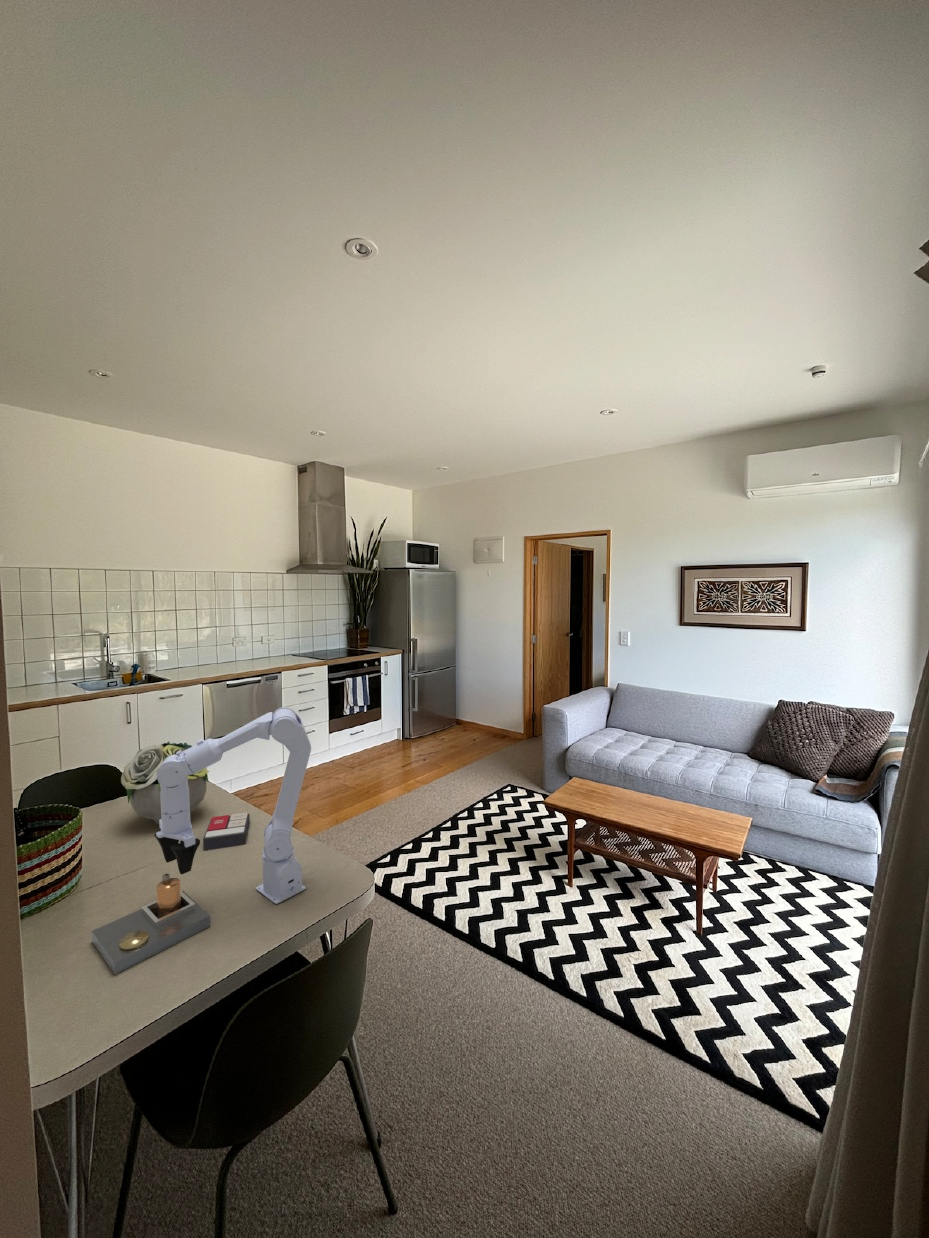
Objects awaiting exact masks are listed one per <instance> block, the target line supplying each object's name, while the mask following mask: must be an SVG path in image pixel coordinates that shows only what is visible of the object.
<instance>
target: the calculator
mask: <svg viewBox="0 0 929 1238" xmlns="http://www.w3.org/2000/svg"><path fill="white" fill-rule="evenodd" d="M250 816H251V815H250V813H248V812H241V813H240V812H239V813H234V814H233V813H232V814H231V815H229V814H226V815H218V816H213V817H212V818H211V819H210V820H209V823H208V826H207V828H206V831H205V832H204V836H203V838H202V844H203V845H202V846H203V847H202V849H203V851H205V852H206V851H210V850H211V851H212V850H218V849H219V850H220V849H225V848H232V847H239V846H245V845H246V844H247V840H248V839H247V838H248V833H249V827H250V822H251V820H250Z"/></svg>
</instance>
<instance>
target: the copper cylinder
mask: <svg viewBox="0 0 929 1238" xmlns="http://www.w3.org/2000/svg"><path fill="white" fill-rule="evenodd" d="M161 878H162V879H161V880H162V881H160V882H159V883H158V884H156V900H157V906H158V919H160V918H162V917H164V916H166V915H168V914H170V913H172V912H175V911H177V910H179V909H181V891H182V890H181V880H180V878H177V877H172V878H171V877H170V873H164V874H163V875H162V877H161ZM180 890H181V891H180Z"/></svg>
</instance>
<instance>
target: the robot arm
mask: <svg viewBox="0 0 929 1238" xmlns="http://www.w3.org/2000/svg"><path fill="white" fill-rule="evenodd" d="M270 737H272V738H273V740H275V741H276V742H277V743H280V744H281V745H283V746H284V747H285V748H286V749H287V750H288V751H289V755H288V759H287V761H286V766H285V771H284V773H283V774H284V775H283V778H282V781H281V786H280V790H279V794H278V796H277V801H276V805H275V809H274V811H273V813H272V816H271V818H270V821H269V822H268V823H267V825H266V826H265V828H264V830H263V836H264V837H263V838H264V841H263V843H264V845H263V850H262V851H263V852H262V853H261V855H262V856H261V858H262V862H261V863H262V884H259V885H258V886H256V887H255V890H256V891H257V892H259V893H260V894H261V895H263V896H264V897H265V898H267V899H268V900H269V901H270V902H272V903H274V904H275V905H278V904H279V903H282V902H284V901H285V900H288V899H289V898H292V897H293V896H295V895H297V894H299V893H300V892H303V891H304V890H306V886H304V885H303V877H302V875H303V874H302V873H303V872H302V871H303V870H302V868H303V867H302V864H301V863H300V862H299V861H298V860H297V858H296V857H295V851H294V846H293V844H292V839H291V836H292V833H293V832H292V831H293V824H294V823H293V822H294V818H295V813H296V810H297V806H298V802H299V797H300V793H301V790H302V786H303V782H304V780H305V779H304V778H305V775H306V770H307V767H308V764H309V759H310V756H311V752H312V746H311V745H312V744H311V741H310V739H309V736H308V733H307V731H306V729H305V726H304V724H303V720H302V719H301V717H300V716H299V715H298V714H297V712H295V710H294V709H292V708H290V707H288V706H287V707H286V706H282V707H278V709H276V710H275V711H274V712H272V711H271V712H270V711H269V712H266V713H265V714H263V715H261V716H259V717H257V718H255V719H254V720H251V721H250V722H248V723H246V724H244V725H243V726H241V727H239V728H237V729H235V730H234V731H232V732H230V733H228V734H226V735H224V736H222V737H221V738H219V739H216V738H206V739H204V738H201V739H199V740H197V743H196V744H195V745H193V746H192V747H191V748H189V749H187V750H185V751H183V752H182V751H181V750H180V751H178V752H177V753H176V754H174V755H171V756H169V757H167V758H166V759H165V760H164V761H163V763H162V764H161V766H160V768H159V769H158V772H157V779H158V781H159V783H160V788H161V791H160V800H161V819H160V820H159V824H158V825H159V829H160V831H157V832H155V833H154V835H153V836H154V837H155V839H156V840H157V842H158V844H159V846H160V848H161V850H162V854H163V855H162V856H163V857H164V860H165V862H166V863H170V862H173V861H175V860H176V864H177V869H178V871H179V874H180V875H184V874H187V873H189V872H191V871H192V866H193V862H194V859H195V858H194V857H195V855H196V852H197V850H198V849H199V846H201V845H200V844H201V839H199V838H198V837H197V838H196V836H195V834H194V832H193V826H192V823H191V811H190V800H189V786H188V776H187V775H192V774H195V773H196V772H198V771H200V770H202V769H204V768H208V767H211V766H212V765H214V764H216V763H218V762H220V761H221V760H222V758H223V754H224V753H227V752H228V751H231V750H232V749H233V750H234V749H235V748H237V747H239V746H241V745H244V744H245V743H248V742H251V741H253V740H255V739H261V740H265V741H269V740H270ZM179 841H180V842H179Z"/></svg>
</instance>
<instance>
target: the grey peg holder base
mask: <svg viewBox="0 0 929 1238" xmlns="http://www.w3.org/2000/svg"><path fill="white" fill-rule="evenodd" d="M180 891H181V909H179V910H177V911H175V912H172V913H170V914H168V915H166V916H164V917H162V918H160V919H158V906H157V899H156V900H154V901H151V902H150V903H147V904H145V905H143V906H141V907H140V909H139V910H136V911H134V912H132V913H130V914H128V915H125V916H122V917H120V918H117V919H116V920H113V921H111V922H109V923H106V924H104V925H101V926H99V927H97V928H95V929H93V930H91V941H92V944H93V945H94V947H95V948H96V950H97V951H98V952H99V954H100V956H101V957H102V959H103V960H104V962H106V964H107V966H108V968H109V969H110V970H111V972H112V973H113V975H115V976H116V975H118V974H120V973H122V972H123V971H126V970H128V969H130V968H132V967H133V966H135V965H137V964H139V963H141V962H144V961H145V960H147V959H149V958H151V957H152V956H155V955H157V954H159V953H161V952H163V951H165V950H167V949H169V948H170V947H173V946H174V945H176V944H179V943H180V942H182V941H184V940H186V939H188V938H190V937H193V936H194V935H196V934H198V933H200V932H202V931H203V930H205V929H208V928H210V927H211V915H210V914H209V913H208V911H206V910H205V909H204V908H203V907H201V906H200V905H199V903H197V902H196V901H195V900H194V899H193V898H192V897H191V896H190V895H188V894H187V893H186V892H185V891H184V890H181V889H180Z"/></svg>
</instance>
